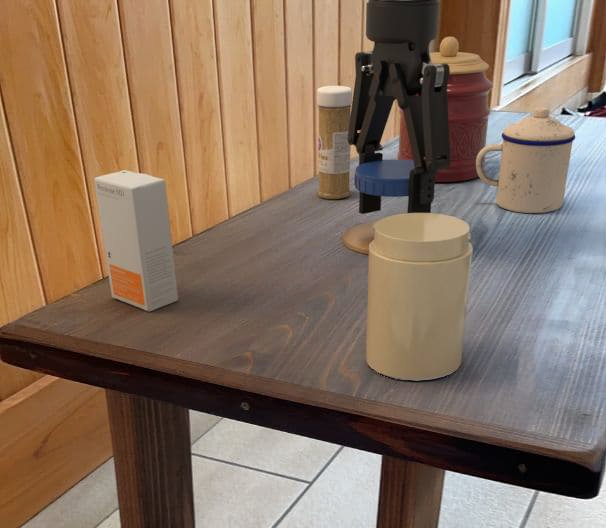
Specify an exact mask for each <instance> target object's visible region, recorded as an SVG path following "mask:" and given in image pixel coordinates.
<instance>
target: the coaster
mask: <svg viewBox="0 0 606 528" xmlns="http://www.w3.org/2000/svg"><path fill="white" fill-rule="evenodd" d="M378 221H379V220H378ZM378 221H369V222H365V223H359V224H357V225H354V226H351V227H349V228H348V229H346V230H345V231H344V232H343V234H342V243H343V245H344V246H345V247H347V248H348V249H349V250H351V251H354V252H357V253H360V254H365V255H367V256H369V245H370V243H371V242H372V241H373V240H374V229H373V226H374V224H375V223H376V222H378Z"/></svg>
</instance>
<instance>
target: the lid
mask: <svg viewBox="0 0 606 528" xmlns="http://www.w3.org/2000/svg"><path fill="white" fill-rule="evenodd" d="M414 168H415V166H414V161H413V160H398V158H397V159H394V158H393V159H383V160H378V161H372V162H367V163H364V164H361V165H359V164H358V165H357V166H356V167H355V169H354V171H355V173H354V186H355V187H354V188H355V189H356V190H357V191H359V193H360V192H363V193H366V194H370V195H375V196H381V197H385V198H386V197H387V198H389V197H390V198H397V197H398V198H402V197H408V195H409V177H410V170H412V169H414Z"/></svg>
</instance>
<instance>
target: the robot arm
mask: <svg viewBox="0 0 606 528" xmlns="http://www.w3.org/2000/svg"><path fill="white" fill-rule="evenodd" d="M440 4H441V3H440V1H439V0H368V2H366V11H365V36H366V38H367V40H368V41H371V42H373V48H372V50H368V51H360V52H358V51H357V52H356V53H355V55H354V68H355V79H354V86H353V92H352V104H351V108H350V123H349V131H348V143H349V145H350V146H354V147H355V151H356V153H357V154H358V166H359V165H361V164H364V163H367V162H372V161H378V160H384V159H383V157H384V153H382V152H379V151H383V149H384V147H383V146H382V145H381V141H382V138H383V136H384V132H385V129H386V126H387V124H388V120H389V117H390V114H391V112H392V108H393V105H394V102H395V101H397V102H396V103H397V106H398V108H399V109H400V108H401V109H402V110H403V112H404V117H405V122H406V127H407V132H408V137H409V141H410V146H411V151H412V156H413V161H414V166H415V168H414V169H412V170H410V177H409V195H408V196H407V198H408V199H407V213H431V211H432V210H431V209H432V203H433V202H434V199H435V187H436V186H435V185H436V182H435V175H436V172H437V171H438V170H440V169H444V168H448V167H449V166H450V164H451V158H450V138H449V119H448V99H447V86H448V80H449V73H450V68H449V65H448V64H438V65H437V64H435V63H433V62H431V58H430V54H429V53H430V44H431V42H432V41H434V40H436V38H437V37H438V33H439V20H440V19H439V17H440ZM417 93H418V96H415V95H416V94H417ZM359 131H360V132H359ZM438 156H440V157H438ZM424 157H425V159H426V160H425V161H424ZM358 194H359V196H358V197H359V199H358V200H359V201H358V202H359V203H358V208H359V209H358V213H359V214H361V215H366V214H370V213H375V212H380V211H381V210H382V196H375V195H370V194H366V193H363V192H360V191H359V193H358Z"/></svg>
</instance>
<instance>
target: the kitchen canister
mask: <svg viewBox="0 0 606 528" xmlns="http://www.w3.org/2000/svg"><path fill="white" fill-rule="evenodd" d="M459 49H460V45H459V41H458V39H457V38H456V37H454V36H446V37H444V38H443V39H442V40H441V42H440V44H439V51H438V52H437V51H436V52H435V51H434V52H429V54H430V58H431V62H433V63H435V64H437V65H438V64H448V65H449V68H450V73H449V80H448V86H447V99H448V119H449V138H450V158H451V164H450V166H449V167H448V168H444V169H440V170H438V171H437V172H436V175H435V183H454V182H456V183H457V182H464V181H469V180H473V179H477V178H478V177H479V175H478V173H477V169H476V159H477V156H478V153H479V152H480V151H481V150H482V149H483V148H484V147H486V146H487V138H488V137H487V136H488V126H489V116H490V114H491V109H490V107H489V93H490V91H491V90H492V89H493V88H494V84H493V82H492V81H491V80H490V79H488V78H487V75H486V71H487V70H489V68H490V65H489V63H487V62H485V60H483V59H482V58H481V56H480V55H479V54H477V53H471V52H461V51H459ZM415 96H418V93H417V94H416V95H415ZM398 113H399V115H400V117H399V118H400V119H399V120H400V121H399V134H398V135H399V139H398V152H397V155H396V156H397V159H398V160H413V156H412V151H411V146H410V141H409V137H408V132H407V127H406V122H405V117H404V112H403V110H402V109H401V108H399V109H398ZM438 157H440V156H438ZM486 157H487V156H486V154H485V155H484V156H483V158H482V160H481V168H482V171H483V170H484V167H485V165H486ZM425 160H426V159H425V157H424V161H425ZM483 172H484V171H483Z"/></svg>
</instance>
